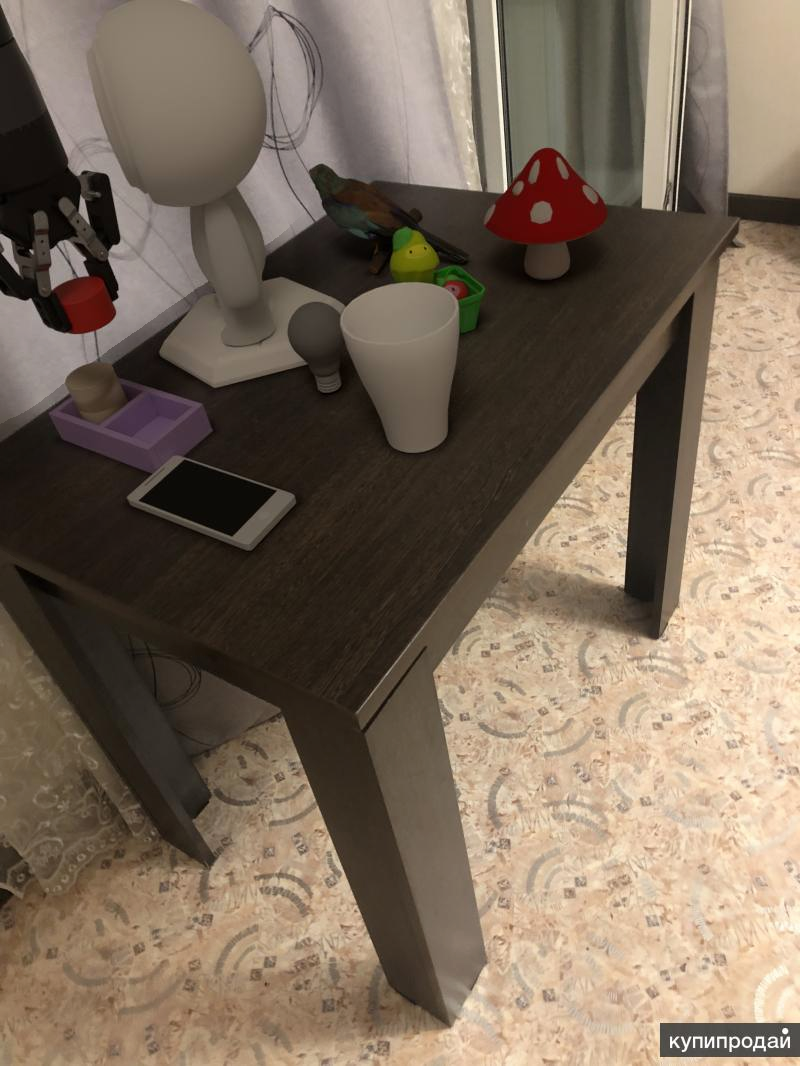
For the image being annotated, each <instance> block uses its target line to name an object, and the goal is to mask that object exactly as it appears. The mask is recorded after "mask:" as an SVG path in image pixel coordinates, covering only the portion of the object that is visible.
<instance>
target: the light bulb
mask: <svg viewBox="0 0 800 1066" xmlns="http://www.w3.org/2000/svg"><path fill="white" fill-rule="evenodd" d="M340 317H341V315H340V313H339V312H338V311H337V310H336V309H335V308H333V307H332V306H330V305H328V304H326V303H323V302H310V303H306V304H304V305H302V306H300V307H299V308H298V309H297V310H296V311H295V312H294V314H293V315H292V317H291V319H290V321H289V324H288V331H287V333H288V338H289V342H290V344H291V346H292V348H293V349H294V351H295V352H296V353H297V354H298V355H299V356H300V357H301V358H302V359H303V360H304V361H305V362H306V363H307V364H308V365H307V366H308V369H309V371H310V372H311V373H312V374H313V375H314V378H315V382H316V387H317V390H318V391H319V392H321V393H326V394H328V393H333V392H336V391H337V390H338V389H340V387H341V386H342V380H341V376H340V371H339V369H340V365H341V354H342V351H343V349H344V346H345V344H346V343H345V340H344V337H343V333H342V330H341V327H340Z"/></svg>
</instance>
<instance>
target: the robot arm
mask: <svg viewBox="0 0 800 1066" xmlns="http://www.w3.org/2000/svg"><path fill="white" fill-rule="evenodd" d="M81 198H82V199H83V200H84V203H85V208H86V209H85V210H86V213H87V219H88V221H87V220H86V219H85V218H84V217H83V216H82V215H81V213H80V204H81ZM0 235H2V236H4V237H6V238H7V239H9V240H10V243H11V249H12V255H13V260H14V262H15V264H16V265H17V267H18V272H19V273H18V272H17V271H16V269H15V268H14V267H13V265H12V264H11V263H10V262H9V261H8V259H7V258H6V257H5V256H4V254H3V253H4V251H5V248H4V247H3V244H2V242H1V241H0V292H1V293H2V294H3V295H4V296H6V297H9V298H10V297H11V298H15V299H18V300H20V301H24V302H26V301H29V300H30V299H31V301H32V303H33V305H34V307H35V309H36V311H37V313H38V315H39V317H40V319H41V321H42V323H43V325H44V326H45V327H46V328H47V329H52V330H53V331H55V332H59V333H62V334H65V335H66V334H68V333H67V332H69V331H70V330H72V325H71V323H70V321H69V319H68V317H67V315H66V313H65V311H64V308H63V306H62V304H61V302H60V300H59V298H58V296H57V294H56V292H52V290H53V289H52V282H51V281H52V280H51V275H50V274H51V273H50V268H51V267H52V264H53V263H52V256H51V255H52V254H51V251H52V249H54V248H56V246H57V245H58V244H59V243H60V242H62V241H67V242H69V243H70V244H71V245H72V247H74V248H75V250H76V251H77V252H78V253H79V254H80V255H81V256H82V257H83V258H85V260H83V261H82V263H83V265H84V268H85V270H86V273H87V274H88V275H87V276H95V277H99V278H101V279H102V280H103V281H104V283H105V285H106V288H107V290H108V293H109V295H110V297H111V300H112V302H113V303H114V302H115V301H116V300H118V299H119V298H120V296H119V293H118V292H119V291H120V287H119V282H118V280H117V278H116V275H115V273H114V270H113V268H112V265H111V263H110V261H109V256H110V254H109V253H110V251H111V250H112V248H113V246H118V245H120V243H121V241H122V236H121V232H120V227H119V221H118V216H117V210H116V206H115V201H114V195H113V190H112V184H111V179H110V176H109V175H108V174H107V173H105V172H98V171H93V170H86V169H84V170H82V171H81V172H80V174H79V175H76V174H75V173H74V172H73V171H72V170H71V169H70V167H69V158H68V154H67V152H66V150H65V148H64V145H63V143H62V141H61V138H60V136H59V133H58V131H57V128H56V126H55V123H54V120H53V119H52V116H51V113H50V111H49V108H48V106H47V104H46V102H45V99H44V97H43V94H42V91H41V88H40V87H39V84H38V82H37V79H36V78H35V74H34V72H33V71H32V68H31V66H30V64H29V62H28V60H27V59H26V57H25V55H24V53H23V52H22V50H21V48H20V46H19V44H18V42H17V40H16V37H15V36H14V33H13V30H12V29H11V26H10V24H9V21H8V18H7V17H6V14H5V11H4V9H3V7H2V4H1V3H0ZM31 251H32V252H33V253H32V252H31Z"/></svg>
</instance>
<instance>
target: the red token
mask: <svg viewBox="0 0 800 1066" xmlns="http://www.w3.org/2000/svg"><path fill="white" fill-rule="evenodd" d="M52 292H56V294H57V296H58V298H59V300H60V302H61V304H62V306H63V308H64V311H65V313H66V315H67V317H68V319H69V321H70V323H71V325H72V330H70V331H69V332H67V333H66V334H70V335H85V334H89V333H92V332H95V331H98V330H100V329H102V328H104V327H106V326H108V325H109V324H110V323H112V321H113V320H114V319H115V318H116V316H117V308H116V306H115V304H114V302H112V300H111V297H110V295H109V293H108V290H107V288H106V285H105V283H104V281H103V280H102V279H101V278H99V277H95V276H89V275H85V276H78V277H74V278H71V279H69V280H66V281H63V282H61V283H60V284H58V285H56V286H55V287H54V288H53V289H52Z"/></svg>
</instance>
